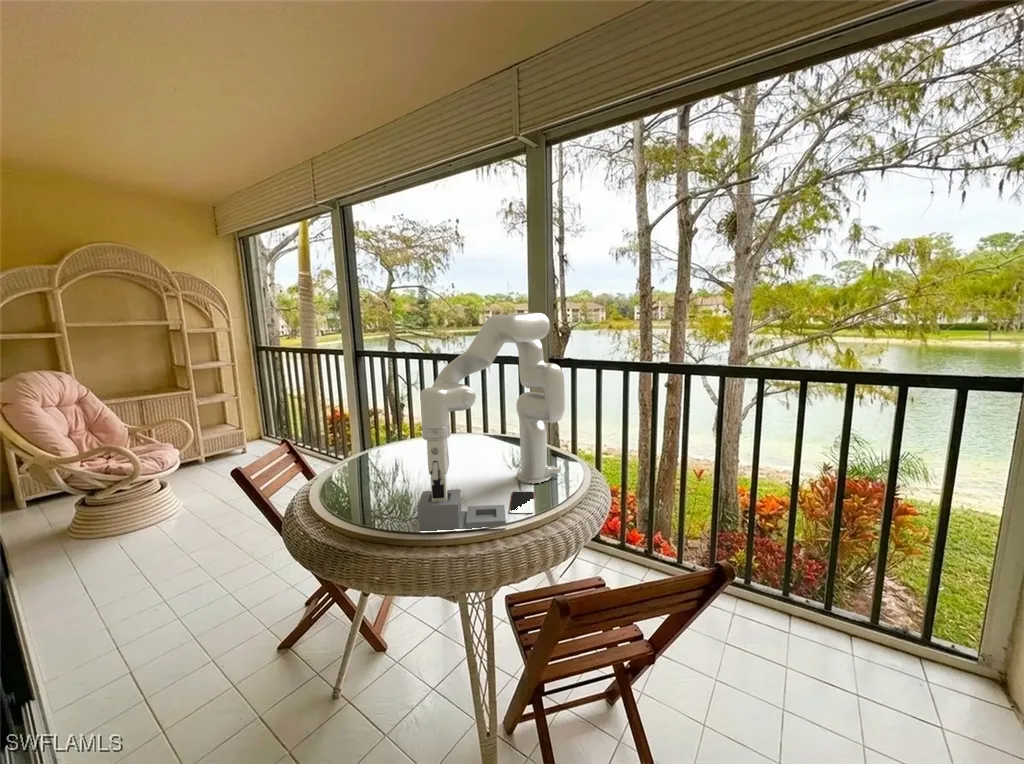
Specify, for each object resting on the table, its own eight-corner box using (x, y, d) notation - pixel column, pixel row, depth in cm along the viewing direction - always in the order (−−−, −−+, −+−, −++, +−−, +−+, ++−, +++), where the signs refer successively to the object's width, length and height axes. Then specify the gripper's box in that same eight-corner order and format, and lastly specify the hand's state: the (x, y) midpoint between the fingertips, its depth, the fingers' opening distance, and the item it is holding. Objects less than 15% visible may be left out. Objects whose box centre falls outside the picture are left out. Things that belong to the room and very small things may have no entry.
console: (504, 512, 128) (503, 487, 126) (506, 528, 118) (505, 502, 117) (424, 516, 126) (422, 491, 125) (419, 533, 116) (417, 506, 115)
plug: (447, 498, 122) (446, 469, 121) (446, 503, 119) (444, 473, 118) (433, 498, 122) (431, 469, 121) (432, 503, 119) (430, 474, 117)
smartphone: (534, 491, 141) (533, 512, 126) (534, 494, 141) (533, 514, 126) (512, 491, 141) (509, 512, 127) (512, 493, 142) (509, 514, 127)
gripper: (447, 440, 109) (450, 506, 112) (452, 423, 126) (454, 481, 129) (417, 441, 109) (421, 507, 112) (426, 424, 125) (430, 482, 128)
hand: (439, 492), depth 120 cm, fingers open, 4 cm apart
